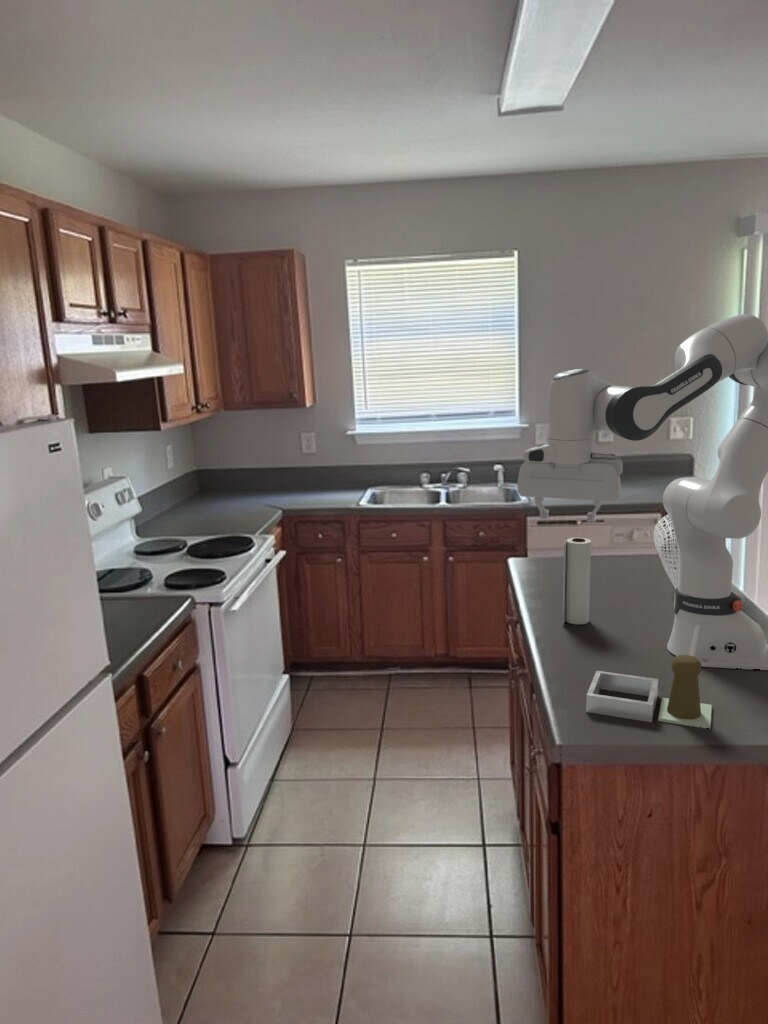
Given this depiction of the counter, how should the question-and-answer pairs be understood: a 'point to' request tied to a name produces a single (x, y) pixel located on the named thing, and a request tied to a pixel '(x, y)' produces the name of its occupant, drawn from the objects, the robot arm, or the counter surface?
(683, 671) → the olive green rounded piece
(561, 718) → the counter surface
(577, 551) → the paper towel roll
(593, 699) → the frame
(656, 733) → the counter surface
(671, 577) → the heart
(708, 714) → the green pad
